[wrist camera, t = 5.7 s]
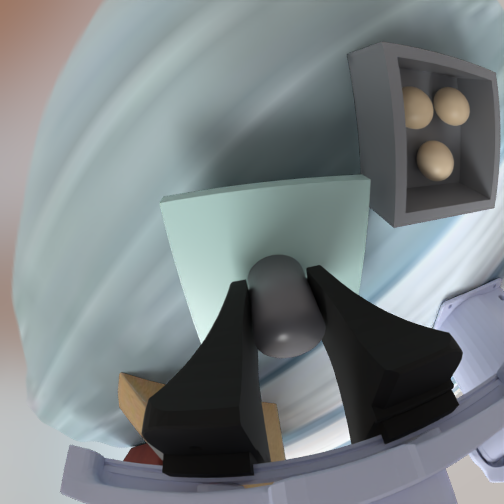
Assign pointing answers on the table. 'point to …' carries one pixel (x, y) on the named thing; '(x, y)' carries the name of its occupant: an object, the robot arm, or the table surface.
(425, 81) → the box
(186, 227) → the lid
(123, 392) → the sandwich container
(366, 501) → the robot arm
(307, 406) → the table surface
